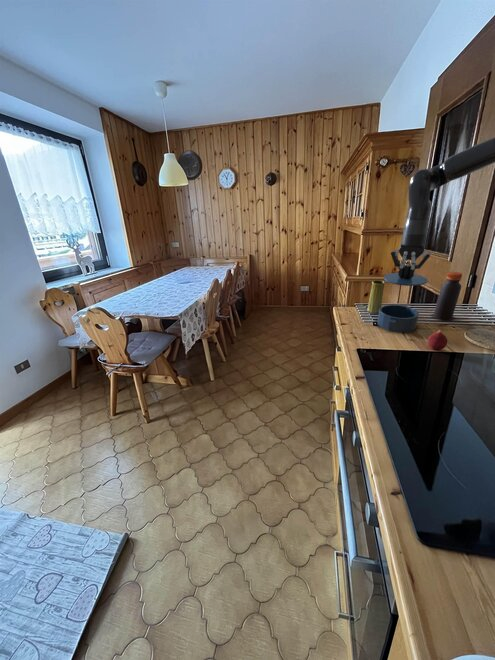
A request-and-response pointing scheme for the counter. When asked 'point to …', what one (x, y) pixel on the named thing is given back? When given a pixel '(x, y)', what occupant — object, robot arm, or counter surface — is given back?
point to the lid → (405, 278)
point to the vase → (376, 296)
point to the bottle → (448, 297)
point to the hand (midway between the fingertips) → (405, 277)
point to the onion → (437, 341)
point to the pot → (397, 318)
